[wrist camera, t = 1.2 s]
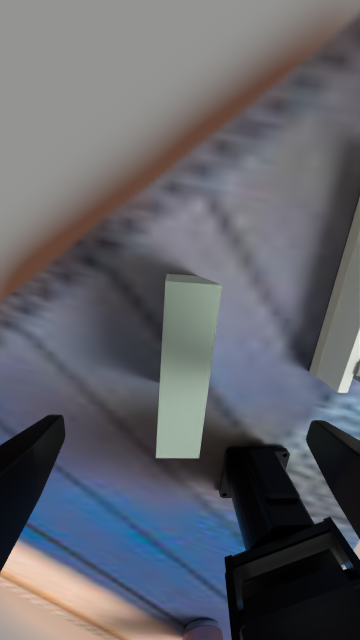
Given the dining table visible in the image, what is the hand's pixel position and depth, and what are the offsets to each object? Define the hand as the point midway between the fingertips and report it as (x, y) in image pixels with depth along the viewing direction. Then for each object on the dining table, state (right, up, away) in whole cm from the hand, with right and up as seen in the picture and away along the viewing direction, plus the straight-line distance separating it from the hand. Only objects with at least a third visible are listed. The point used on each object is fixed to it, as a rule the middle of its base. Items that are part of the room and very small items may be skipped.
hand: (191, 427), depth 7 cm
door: (-1, +3, +9) cm, 10 cm away
